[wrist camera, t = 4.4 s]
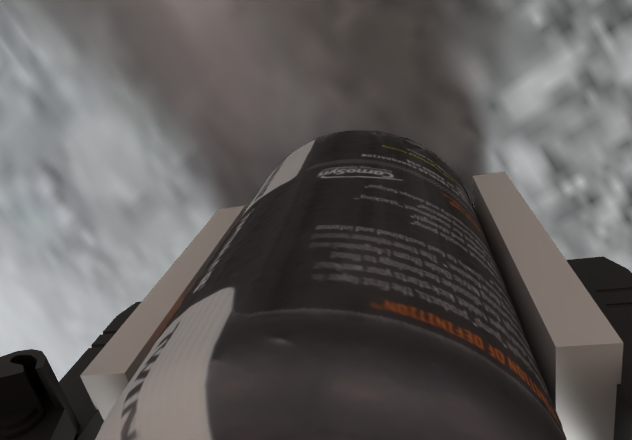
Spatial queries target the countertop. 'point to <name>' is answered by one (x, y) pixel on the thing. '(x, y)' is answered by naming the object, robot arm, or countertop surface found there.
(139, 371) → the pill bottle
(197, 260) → the robot arm
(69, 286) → the countertop surface
